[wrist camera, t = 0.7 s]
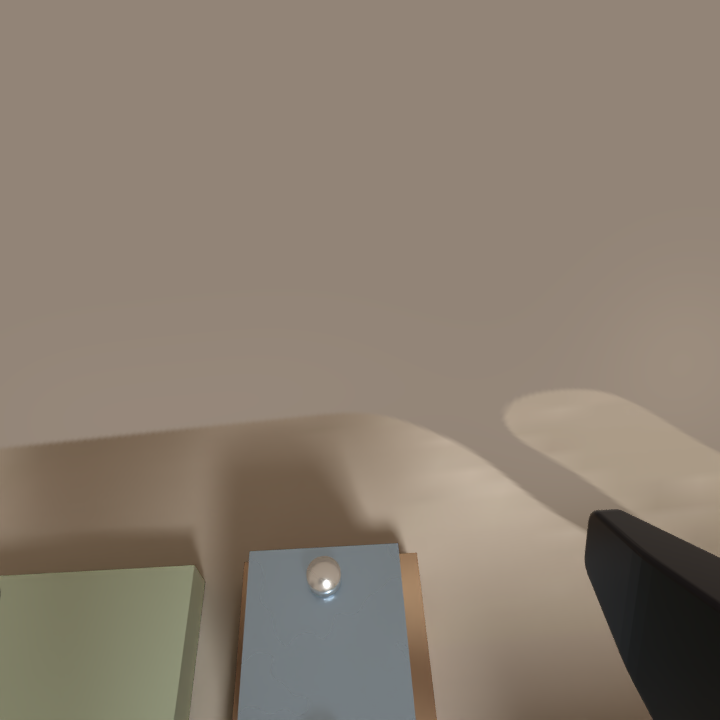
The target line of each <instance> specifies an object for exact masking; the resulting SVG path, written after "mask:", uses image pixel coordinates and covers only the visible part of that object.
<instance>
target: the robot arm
mask: <svg viewBox="0 0 720 720" xmlns="http://www.w3.org/2000/svg"><path fill="white" fill-rule="evenodd" d="M585 566H586V570H587V574H588V576H589V579H590V581H591V584H592V586H593V589H594V591H595V594H596V596H597V598H598V601H599V603H600V606H601V608H602V611H603V613H604V616H605V618H606V621H607V623H608V626H609V628H610V631H611V633H612V636H613V638H614V641H615V643H616V645H617V648H618V650H619V653H620V655H621V657H622V660H623V662H624V664H625V667H626V669H627V671H628V673H629V675H630V677H631V679H632V681H633V683H634V685H635V687H636V688H637V690H638V692H639V694H640V696H641V698H642V700H643V702H644V704H645V705H646V707H647V709H648V711H649V713H650V715H651V717H652V719H653V720H720V558H719V557H717V556H715V555H713V554H711V553H709V552H707V551H705V550H703V549H701V548H699V547H697V546H694V545H692V544H690V543H688V542H686V541H684V540H682V539H680V538H678V537H676V536H674V535H672V534H670V533H667V532H665V531H663V530H661V529H659V528H657V527H655V526H653V525H651V524H649V523H647V522H645V521H643V520H640V519H638V518H636V517H634V516H632V515H630V514H628V513H626V512H624V511H622V510H618V509H611V510H596V511H594V512H592V513H591V514H590V517H589V521H588V529H587V539H586V548H585ZM0 597H1V590H0Z"/></svg>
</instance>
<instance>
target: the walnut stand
mask: <svg viewBox="0 0 720 720" xmlns="http://www.w3.org/2000/svg"><path fill="white" fill-rule="evenodd" d="M399 557H400V567H401V577H402V587H403V597H404V607H405V617H406V627H407V637H408V647H409V657H410V667H411V677H412V688H413V698H414V708H415V718H416V720H437V717H436V709H435V700H434V692H433V684H432V675H431V667H430V659H429V650H428V642H427V634H426V625H425V617H424V609H423V600H422V592H421V584H420V575H419V567H418V559H417V553H404V554H399ZM248 567H249V562H244V573H243V586H242V599H241V612H240V625H239V638H238V651H237V664H236V677H235V690H234V703H233V716H232V720H237V719H238V706H239V692H240V678H241V664H242V650H243V636H244V622H245V609H246V595H247V581H248Z"/></svg>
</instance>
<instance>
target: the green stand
mask: <svg viewBox="0 0 720 720" xmlns="http://www.w3.org/2000/svg"><path fill="white" fill-rule="evenodd" d="M204 587H205V581H204V579H203V578H202V576H201V575H200V573H199V571H198V570H197V568H196V567H195V565H187V566H169V567H151V568H133V569H114V570H96V571H78V572H60V573H42V574H24V575H6V576H0V590H1V597H0V720H189V713H190V705H191V696H192V688H193V680H194V671H195V663H196V655H197V646H198V638H199V629H200V621H201V613H202V604H203V596H204Z"/></svg>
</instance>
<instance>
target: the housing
mask: <svg viewBox="0 0 720 720" xmlns="http://www.w3.org/2000/svg"><path fill="white" fill-rule="evenodd" d="M237 720H416V718H415V708H414V698H413V688H412V677H411V667H410V657H409V647H408V637H407V627H406V617H405V607H404V597H403V587H402V577H401V567H400V557H399V547H398V543H393V544H375V545H357V546H338V547H320V548H302V549H283V550H265V551H250V553H249V567H248V581H247V595H246V609H245V622H244V636H243V650H242V664H241V678H240V692H239V706H238V719H237Z"/></svg>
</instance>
